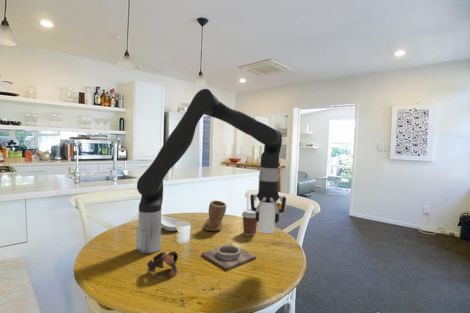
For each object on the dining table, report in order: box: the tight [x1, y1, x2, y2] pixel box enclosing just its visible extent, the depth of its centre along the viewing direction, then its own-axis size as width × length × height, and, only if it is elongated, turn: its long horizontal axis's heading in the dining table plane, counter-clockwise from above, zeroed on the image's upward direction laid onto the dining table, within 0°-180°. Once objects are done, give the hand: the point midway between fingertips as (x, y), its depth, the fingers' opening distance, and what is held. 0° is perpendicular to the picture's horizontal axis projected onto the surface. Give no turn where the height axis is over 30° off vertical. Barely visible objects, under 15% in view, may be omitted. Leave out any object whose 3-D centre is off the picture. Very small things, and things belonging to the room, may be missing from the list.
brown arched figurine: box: [146, 250, 179, 279], centre depth 92 cm, size 12×10×8 cm
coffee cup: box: [241, 208, 258, 236], centre depth 133 cm, size 9×9×12 cm
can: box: [257, 201, 276, 235], centre depth 99 cm, size 6×6×12 cm
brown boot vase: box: [203, 200, 227, 232], centre depth 140 cm, size 15×12×15 cm
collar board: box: [201, 243, 257, 271], centre depth 105 cm, size 16×16×3 cm
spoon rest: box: [161, 214, 183, 232], centre depth 138 cm, size 24×12×7 cm, turn 74°
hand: (266, 221), depth 99 cm, fingers closed on can, 6 cm apart
